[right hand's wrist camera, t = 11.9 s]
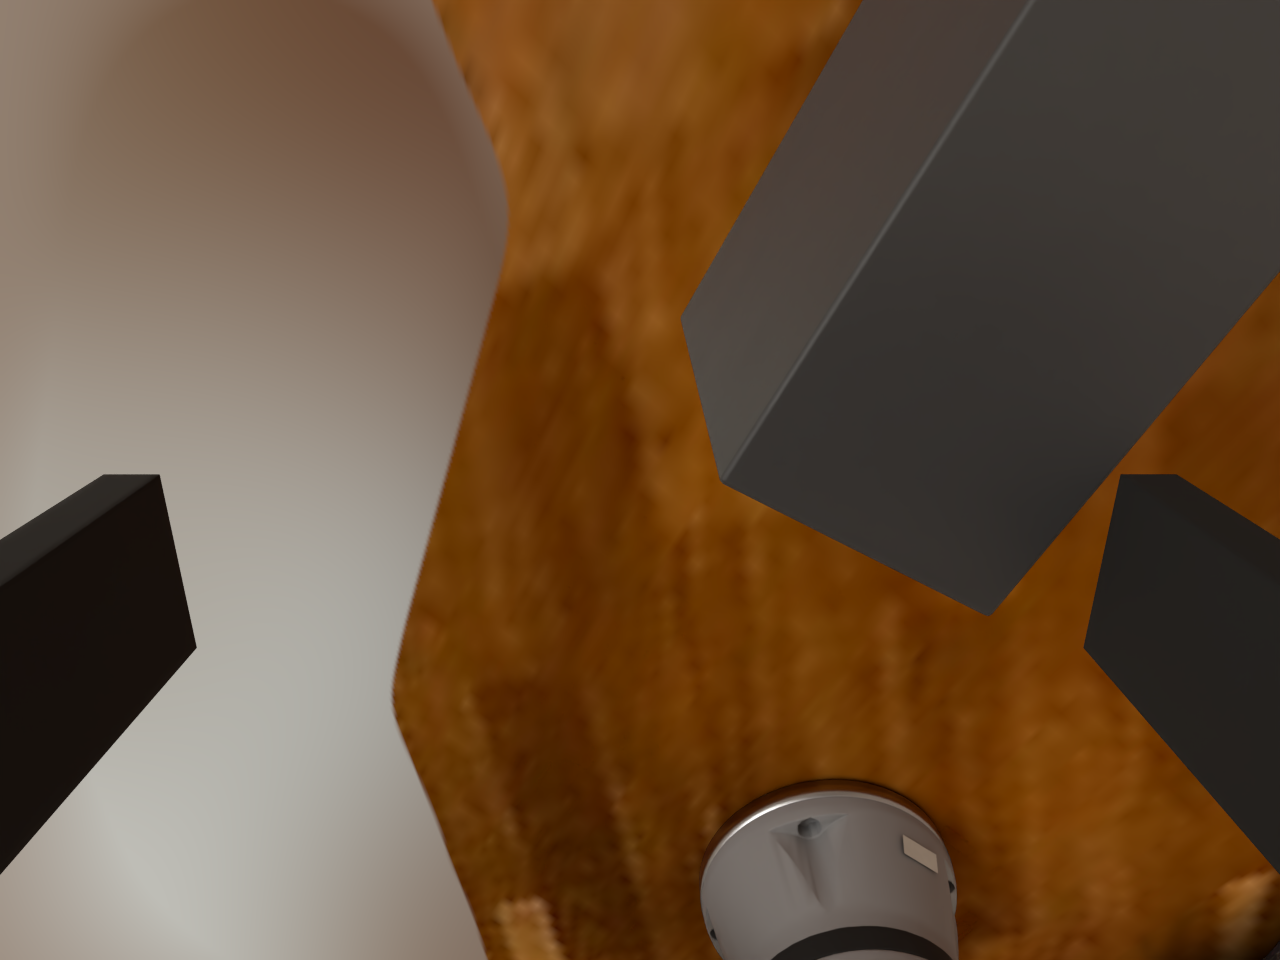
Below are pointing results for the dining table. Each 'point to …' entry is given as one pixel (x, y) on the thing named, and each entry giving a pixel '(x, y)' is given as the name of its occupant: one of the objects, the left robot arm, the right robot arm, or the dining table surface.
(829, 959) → the right robot arm
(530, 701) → the dining table surface
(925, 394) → the bar
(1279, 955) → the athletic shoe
